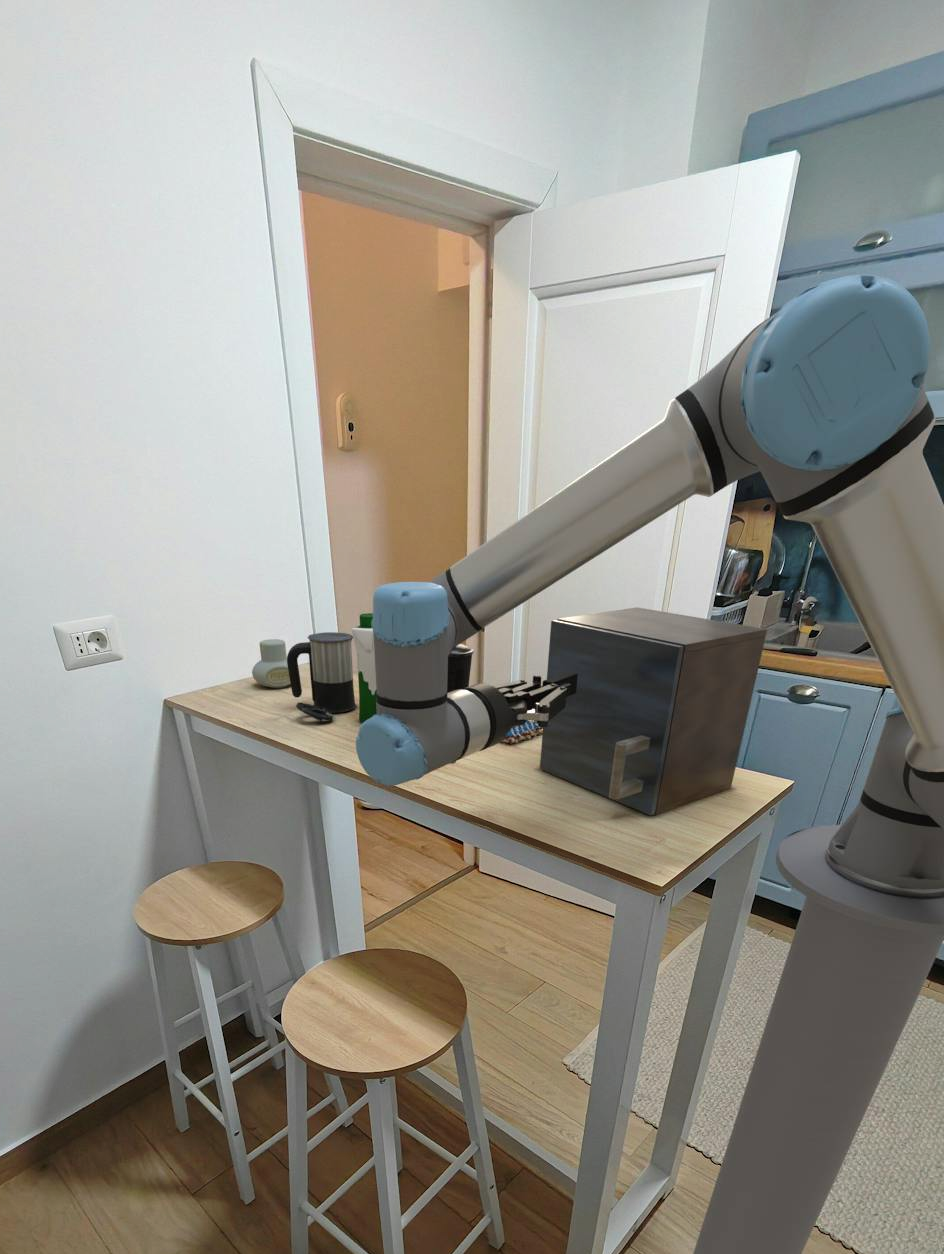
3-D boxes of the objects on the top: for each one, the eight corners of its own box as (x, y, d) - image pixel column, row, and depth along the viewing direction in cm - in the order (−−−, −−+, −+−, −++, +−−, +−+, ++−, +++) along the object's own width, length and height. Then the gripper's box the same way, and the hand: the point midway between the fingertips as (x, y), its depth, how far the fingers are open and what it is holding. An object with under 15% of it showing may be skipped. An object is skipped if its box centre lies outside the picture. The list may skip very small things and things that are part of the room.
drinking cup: (478, 716, 147) (481, 613, 136) (462, 726, 141) (464, 620, 131) (445, 711, 150) (445, 610, 139) (428, 721, 144) (427, 616, 134)
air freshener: (258, 691, 165) (252, 647, 159) (250, 683, 171) (244, 640, 166) (304, 686, 168) (299, 642, 163) (294, 678, 175) (290, 636, 170)
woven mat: (546, 733, 137) (547, 723, 136) (511, 746, 131) (512, 735, 130) (505, 722, 143) (506, 712, 142) (470, 734, 137) (470, 723, 136)
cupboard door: (623, 825, 101) (649, 652, 88) (513, 776, 118) (522, 624, 105) (655, 814, 104) (684, 645, 92) (543, 767, 121) (555, 619, 108)
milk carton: (378, 711, 151) (373, 610, 140) (413, 718, 146) (411, 614, 136) (352, 721, 144) (345, 617, 134) (388, 729, 140) (384, 621, 130)
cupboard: (655, 815, 104) (685, 644, 92) (544, 768, 121) (557, 618, 109) (731, 788, 113) (767, 629, 100) (617, 747, 130) (637, 607, 117)
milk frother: (350, 700, 158) (346, 630, 150) (370, 719, 145) (366, 644, 138) (287, 707, 154) (279, 635, 146) (302, 727, 141) (294, 650, 133)
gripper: (426, 741, 89) (531, 701, 104) (511, 764, 82) (610, 718, 97) (425, 680, 85) (535, 648, 100) (515, 699, 78) (618, 661, 93)
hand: (572, 682), depth 99 cm, fingers closed
